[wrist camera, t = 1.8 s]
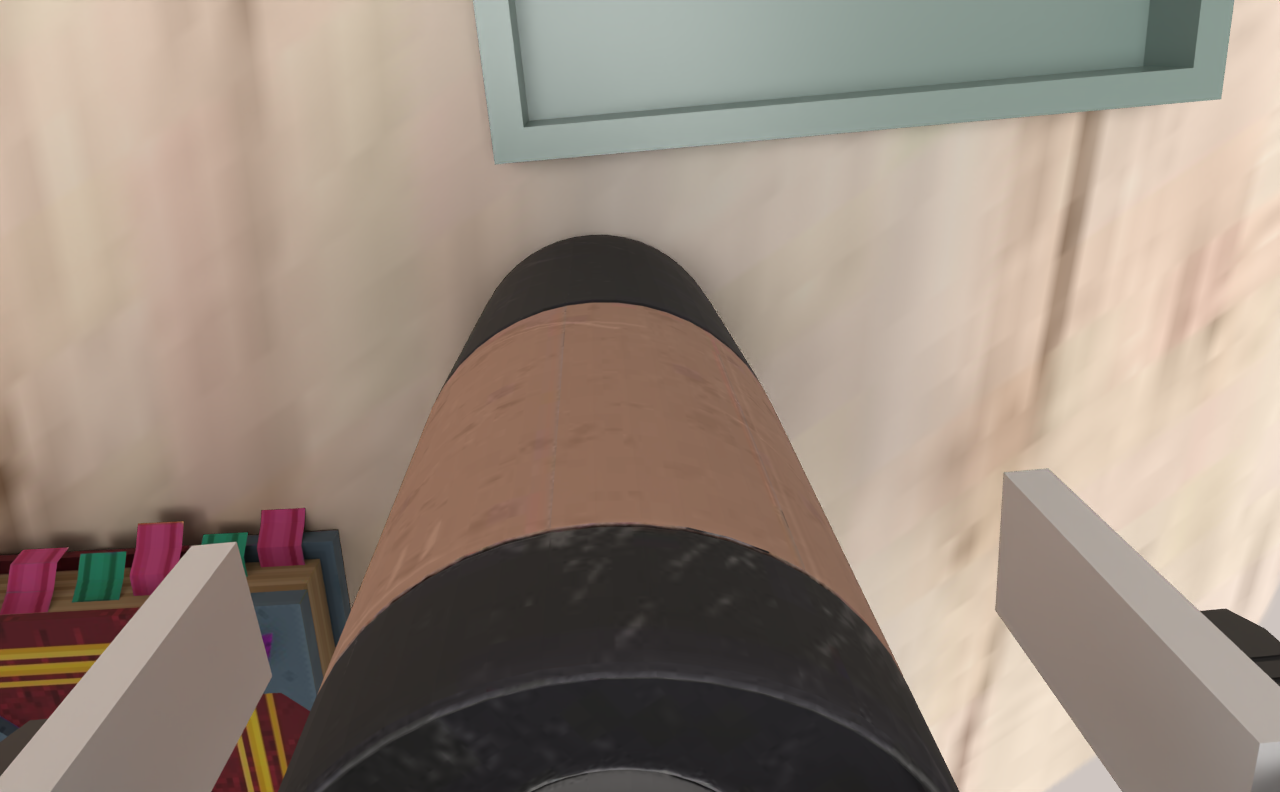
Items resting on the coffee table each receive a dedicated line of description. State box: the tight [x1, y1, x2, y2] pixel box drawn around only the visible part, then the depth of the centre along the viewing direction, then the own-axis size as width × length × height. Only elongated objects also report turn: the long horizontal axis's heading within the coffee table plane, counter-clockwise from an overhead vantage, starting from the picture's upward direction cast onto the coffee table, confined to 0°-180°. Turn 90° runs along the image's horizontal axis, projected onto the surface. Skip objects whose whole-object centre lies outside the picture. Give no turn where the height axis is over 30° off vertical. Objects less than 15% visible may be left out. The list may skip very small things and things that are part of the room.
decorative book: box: [0, 508, 351, 792], centre depth 29 cm, size 11×16×5 cm
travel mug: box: [278, 235, 959, 792], centre depth 18 cm, size 8×8×20 cm
